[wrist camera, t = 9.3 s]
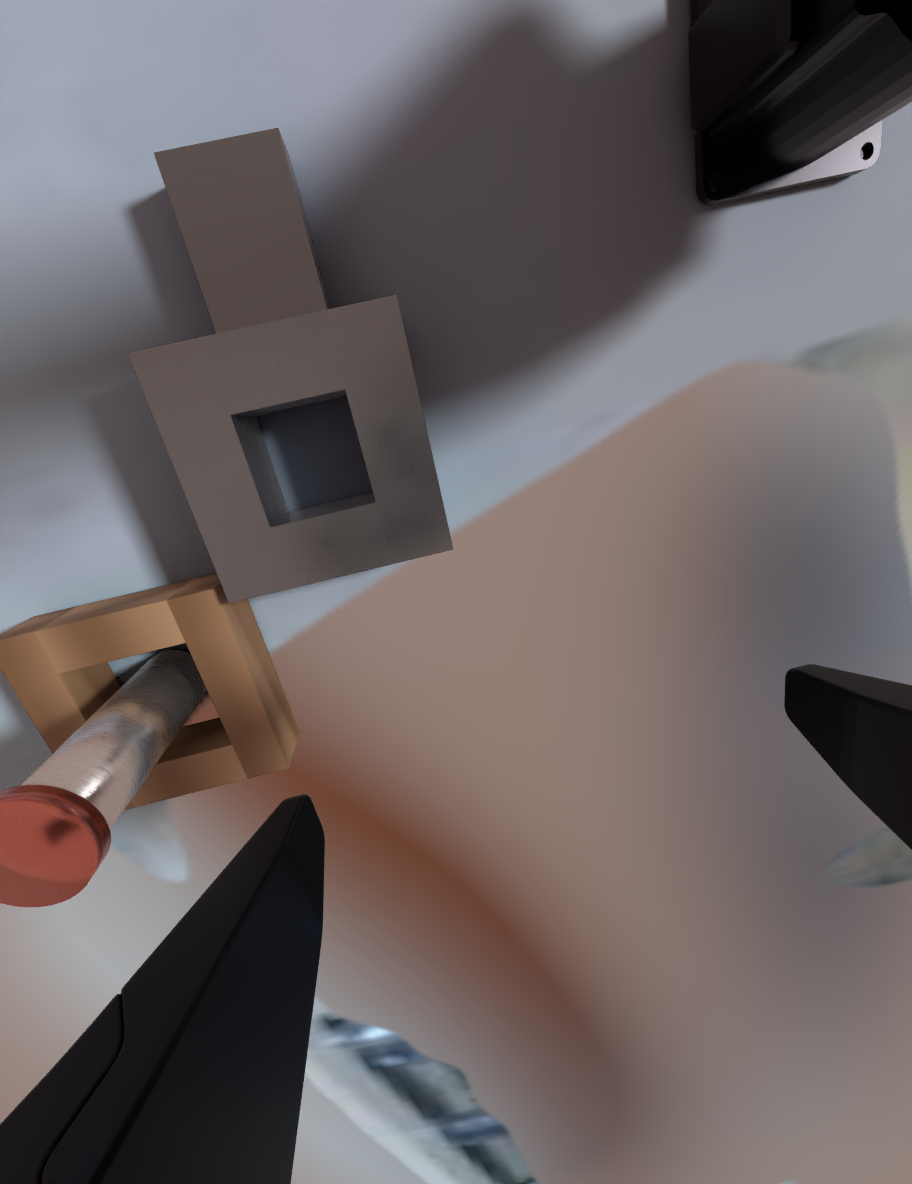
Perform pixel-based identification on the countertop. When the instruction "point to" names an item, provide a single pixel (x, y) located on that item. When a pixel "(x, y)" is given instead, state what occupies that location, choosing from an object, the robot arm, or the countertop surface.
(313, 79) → the countertop surface
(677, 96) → the countertop surface
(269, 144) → the block
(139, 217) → the countertop surface
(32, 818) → the hitch pin
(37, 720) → the frame
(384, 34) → the countertop surface
